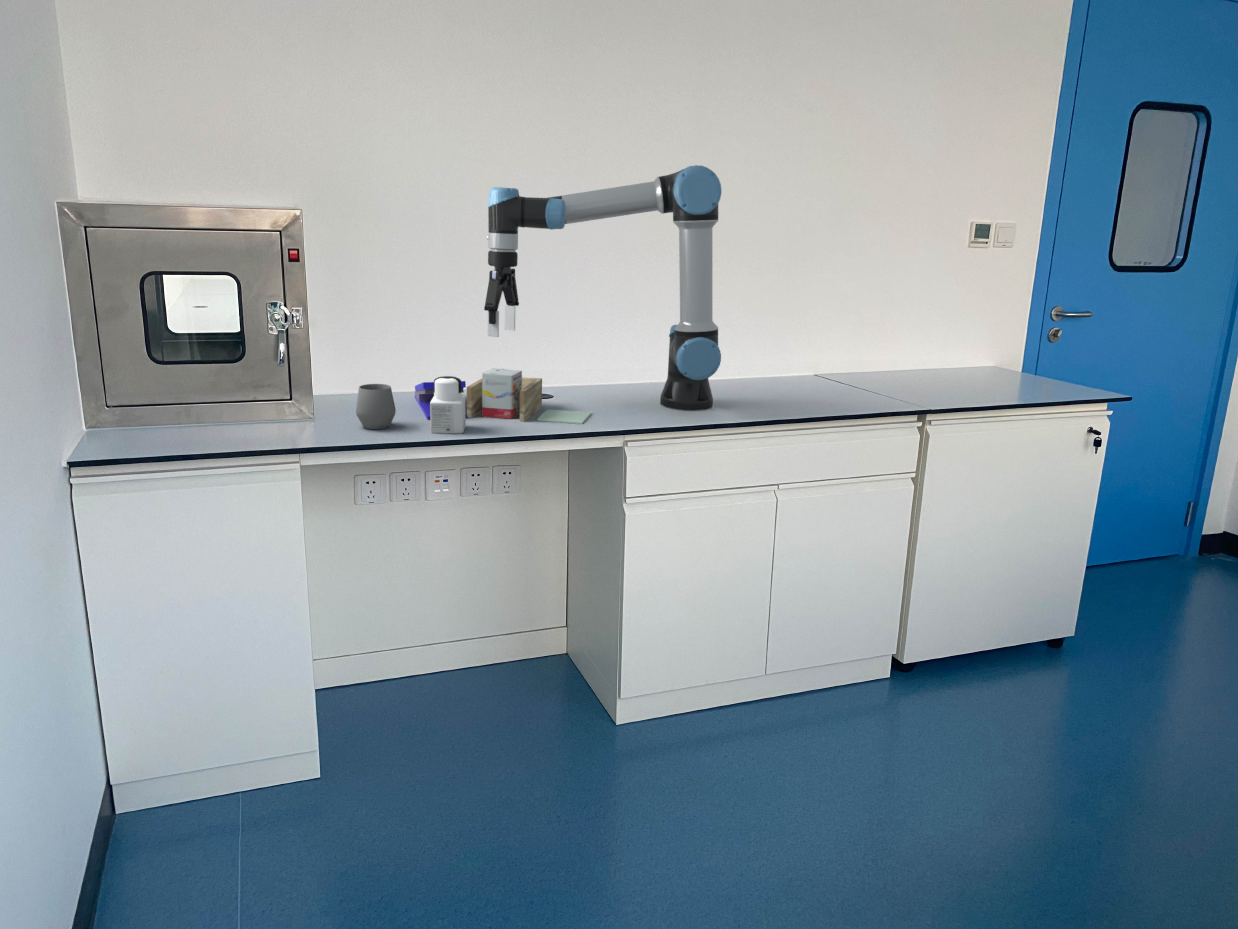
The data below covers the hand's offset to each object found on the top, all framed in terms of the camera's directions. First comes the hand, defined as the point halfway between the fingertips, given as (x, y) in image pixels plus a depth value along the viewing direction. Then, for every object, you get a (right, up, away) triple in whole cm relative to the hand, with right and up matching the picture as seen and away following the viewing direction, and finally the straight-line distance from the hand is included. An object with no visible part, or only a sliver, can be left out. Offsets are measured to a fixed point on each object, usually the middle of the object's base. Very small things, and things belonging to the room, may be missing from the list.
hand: (501, 333), depth 231 cm
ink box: (0, -21, +2) cm, 22 cm away
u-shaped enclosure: (0, -20, +5) cm, 21 cm away
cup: (-29, -25, -15) cm, 41 cm away
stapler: (-18, -19, +8) cm, 28 cm away
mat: (+16, -22, +2) cm, 27 cm away
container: (-11, -26, -15) cm, 32 cm away
